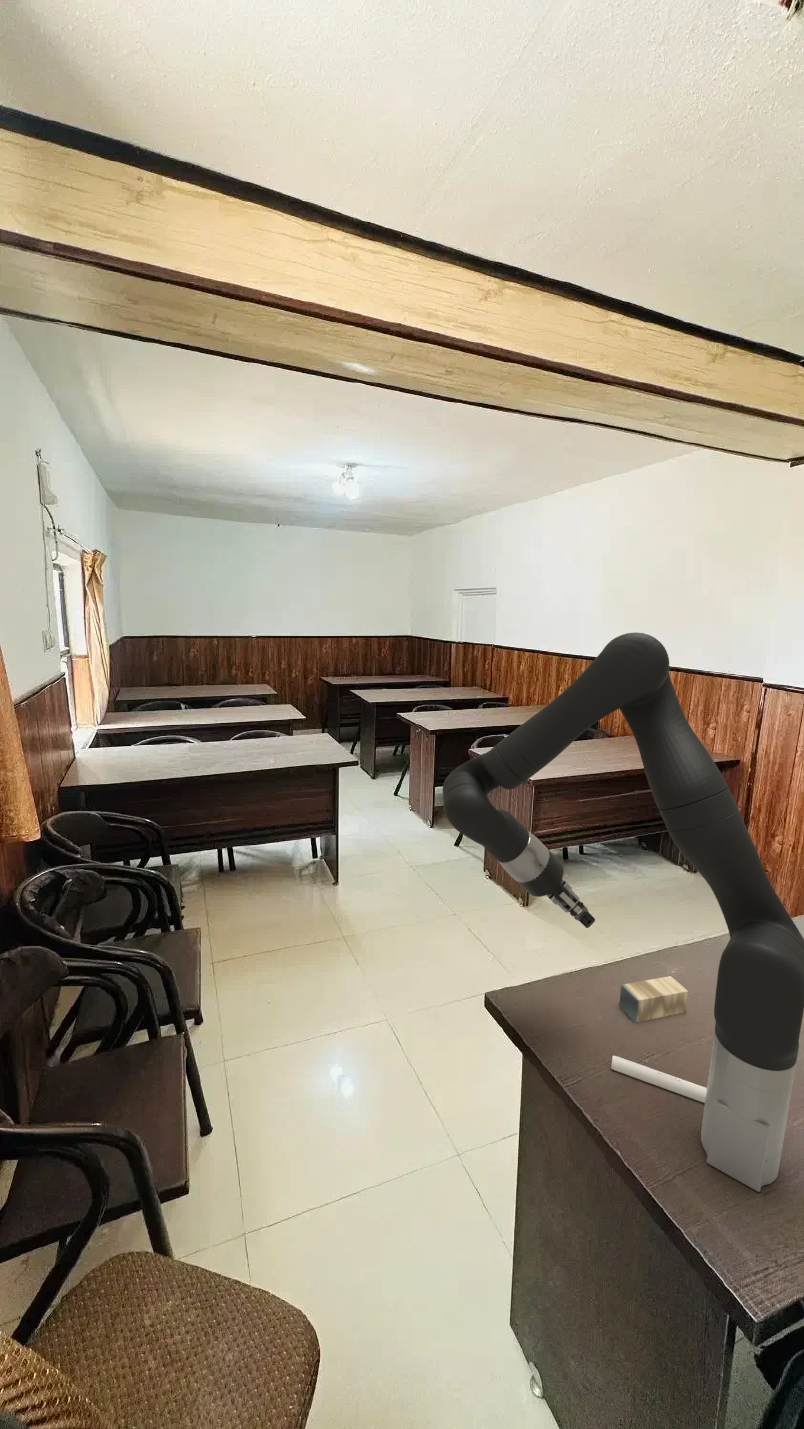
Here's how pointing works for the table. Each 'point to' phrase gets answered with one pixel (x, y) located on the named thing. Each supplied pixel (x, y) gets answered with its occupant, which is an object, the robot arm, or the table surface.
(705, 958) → the table surface
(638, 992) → the beech block
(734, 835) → the robot arm
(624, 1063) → the marker
